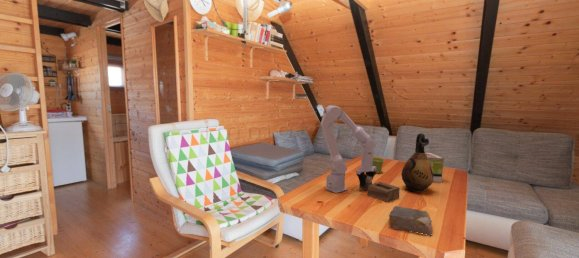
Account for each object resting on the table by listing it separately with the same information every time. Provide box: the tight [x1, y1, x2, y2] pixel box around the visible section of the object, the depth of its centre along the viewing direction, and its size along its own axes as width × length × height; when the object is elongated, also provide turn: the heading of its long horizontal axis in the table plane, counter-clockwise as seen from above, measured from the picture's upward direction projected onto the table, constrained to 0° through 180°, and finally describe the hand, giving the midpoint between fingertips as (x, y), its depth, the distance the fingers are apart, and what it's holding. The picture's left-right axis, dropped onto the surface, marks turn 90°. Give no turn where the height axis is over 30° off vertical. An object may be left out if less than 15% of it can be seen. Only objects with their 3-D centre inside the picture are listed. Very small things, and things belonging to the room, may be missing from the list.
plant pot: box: [372, 157, 385, 174], centre depth 178 cm, size 9×9×9 cm
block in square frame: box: [367, 181, 401, 203], centre depth 135 cm, size 10×11×5 cm
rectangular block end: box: [359, 176, 373, 191], centre depth 146 cm, size 2×6×7 cm, turn 38°
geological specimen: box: [388, 205, 433, 236], centre depth 105 cm, size 11×6×15 cm
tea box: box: [425, 152, 445, 183], centre depth 166 cm, size 15×10×15 cm
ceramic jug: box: [401, 132, 434, 194], centre depth 145 cm, size 17×15×30 cm
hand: (365, 185), depth 146 cm, fingers open, 5 cm apart
